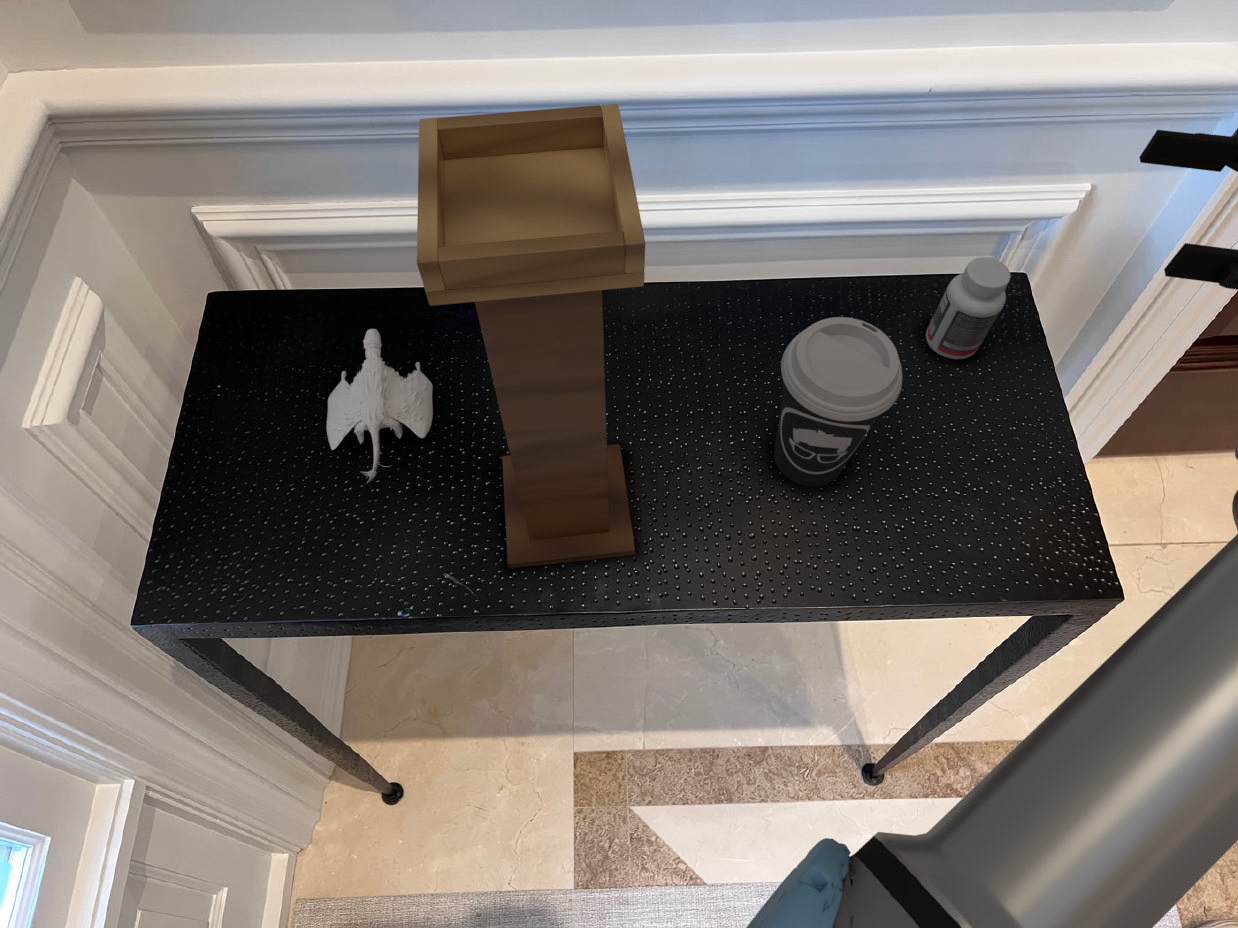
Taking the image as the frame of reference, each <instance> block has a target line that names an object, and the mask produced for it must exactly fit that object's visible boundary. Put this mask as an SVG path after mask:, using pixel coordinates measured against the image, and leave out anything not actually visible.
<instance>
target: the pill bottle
mask: <svg viewBox="0 0 1238 928" xmlns="http://www.w3.org/2000/svg"><path fill="white" fill-rule="evenodd" d="M1010 280H1011V271H1010V269H1009V267H1007V265H1005V263H1004V262H1002V261H1000V260H998V259H996V258H993V257H988V256H982V257H976V258H973V259H972V260H970V261H969V262H968V264H967V265H966V267H965V269H964V271H963V272H962V273H960V274H958V275H956V276H954V278H952V279H951V280H950V282H949V284H948V285H947V287H946V290H945V291H944V293H943V296H942V297H941V300H940V301H939V304H938V305H937V308H936V309H935V312H934V314H933V316H932V318H931V319H930V322H929V324H928V326H927V328H926V332H925V339H926V342H927V345H928V346H929V347H930V348H931V349H932V351H934V352H935V353H936V354H938V355H940V356H942V357H944V358H947V359H951V360H964V359H968V358H970V357H972V356H973V355H975V354H976V352H977V351H978V350H979V348H980V346H981V345H982V343H983V342H984V340H985V338H986V336H987V335H988V333H989V331H990V329H991V328H992V326H993V325H994V324H995V321H996V320H997V318H998V316H999V315H1000V313H1001V311H1002V310H1003V308H1004V306H1005V304H1006V300H1007V295H1006V291H1005V290H1006V289H1007V287H1008V285H1009V282H1010Z"/></svg>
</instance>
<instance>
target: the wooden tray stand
mask: <svg viewBox="0 0 1238 928" xmlns="http://www.w3.org/2000/svg"><path fill="white" fill-rule="evenodd" d="M417 161H418V165H417V172H418V173H417V221H416V222H417V225H416V226H417V227H416V232H417V233H416V265H417V268H418V273H419V275H420V278H421V282H422V285H423V288H424V289H423V290H424V292H425V295H426V298H427V301H428V305H429V306H430V307H433V306H442V305H443V306H444V305H454V304H464V303H474V304H475V308H476V309H475V310H476V312H477V313H476V314H477V317H478V321H479V326H480V330H481V331H480V332H481V335H482V339H483V343H484V348H485V352H486V357H487V360H488V365H489V369H490V374H491V378H492V383H493V388H494V391H495V396H496V400H497V405H498V409H499V413H500V417H501V421H502V426H503V430H504V435H505V439H506V443H507V448H508V452H509V453H508V454H509V455H502V457H501V459H502V478H503V499H504V518H505V535H506V537H505V538H506V554H507V557H506V558H507V566H508V569H520V568H528V567H529V568H530V567H538V566H547V565H556V564H565V563H573V562H582V561H590V560H591V561H593V560H601V559H608V558H618V557H626V556H627V557H628V556H634V555H636V547H635V540H634V533H633V532H634V531H633V526H632V519H631V512H630V505H629V497H628V491H627V483H626V476H625V470H624V463H623V455H622V450H621V449H622V448H621V444H620V443H617V444H608V436H607V405H606V403H607V402H606V401H607V399H606V372H605V339H604V336H605V335H604V333H605V332H604V306H603V305H604V304H603V300H604V299H603V291H606V290H608V291H609V290H618V289H629V288H639V287H644V286H645V269H646V267H645V266H646V265H645V264H646V238H645V234H644V228H643V224H642V219H641V214H640V207H639V203H638V202H639V201H638V197H637V192H636V188H635V187H636V186H635V183H634V182H635V181H634V177H633V171H632V167H631V162H630V156H629V151H628V147H627V140H626V137H625V132H624V127H623V122H622V115H621V111H620V106H619V104H618V103H612V104H602V105H600V104H599V105H597V104H595V105H583V106H571V107H560V108H547V109H533V110H520V111H508V112H496V113H481V114H469V115H457V116H444V117H443V116H442V117H430V118H429V117H428V118H419V119H418V160H417Z"/></svg>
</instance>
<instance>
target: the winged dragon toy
mask: <svg viewBox="0 0 1238 928" xmlns="http://www.w3.org/2000/svg"><path fill="white" fill-rule="evenodd" d="M381 338H382V337H381V334H380V332H379V331H378V329H376V328H369V329H367V331H366V332H365V335H364V339H363V340H362V343H363V349H365V350H364V352H365V353H364V355H365V358H366V359H365V360H363V363H361V366H362V367H361V369H359V371H358V372H356V376H354V377H353V381H352V382H351V383H348V381H347V380H346V378H347V371H346V370H343V371H342V372H341V374H340V376H341V379H340V381H339V383H338V384H337V385H336V387H335V388H334V389H333V390H332V392H331V393H330V394H329V396H328V399H327V414H326V415H327V416H326V435H327V441H328V443H329V447H330V449H331V451H333V450H335V449H336V448H338V447H339V445H340V444H341V443H342V441H343V440H344V438H345V437H346V436H347V435H348V433H349V432H350V431H351V430H352V429H353V428H354V430H353V434H355V435H356V438H357V440H358V442H359V445H362V443H364V441H365V431H368V432H369V433H370V436H371V440H372V449H373V463H372V469H370V470H368V471H361V474H364V476H368V477H369V479H368V480H367V482H366V483H365V485H367V484H368V483H370V482H372V481H373V479H374V478H375V476H376V475H377V470H378V467H379V465H380V463H381V462H380V457H381V456H380V455H381V452H382V451H381V446H380V445H381V443H380V430H382V429H386V428H390V430H393V432H394V435H396V438H398V439H399V440H401V438H402V437H403V435H404V430H403V425H405V426H406V427H407V428H408V429H410V430H411V431H412V432H413V433H414V434H415V435H416V436H417V437H419V438H420V439H425V438H426V436H427V435H428V433H429V431H430V429H431V426H432V422H433V417H434V416H433V415H434V405H433V389H434V386H433V384H432V382H431V380H429V378H428V377H427V376H426V375H425V374H424V372H422V371H421V363H420V361H416V362H415V368H416V369H413V371H412V372H411V373H410V372H408V373H407V377H404V376H401V375H400V373H399V372H398V371H395V369H394V368H393V367H392V366H390V367H389V366H388V365H387V364H386V361H384V359H383V357H381V352H382V351H381V350H382V349H381V348H382V346H383V343H382V339H381Z"/></svg>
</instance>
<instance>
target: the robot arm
mask: <svg viewBox="0 0 1238 928" xmlns="http://www.w3.org/2000/svg"><path fill="white" fill-rule="evenodd" d="M1139 162H1140V163H1141V164H1148V165H1149V164H1150V165H1158V166H1167V167H1175V168H1184V169H1190V170H1191V169H1192V170H1193V169H1194V170H1202V171H1210V172H1218V173H1221V172H1222V171H1223V170H1224V168H1225V167H1228V168H1229V169H1231V170H1233V171H1234V172H1236V173H1238V127H1237V128H1236V129H1235V130H1234V132H1233V134H1232V135H1231V136H1230V135H1221V134H1213V133H1212V134H1210V133H1205V132H1204V133H1203V132H1196V133H1190V132H1184V131H1183V132H1182V131H1175V130H1174V131H1173V130H1164V129H1157V130H1156V131H1155V132H1154V134H1153V135H1152V137H1151V138H1150V140H1149V141H1148V143H1147V144H1146V146H1145V148H1144V149H1143V151H1142V152H1141V154H1140V155H1139ZM1163 271H1164V275H1165V277H1169V278H1175V279H1176V278H1177V279H1183V280H1184V279H1185V280H1192V281H1200V282H1206V283H1215V284H1218V286H1219V287H1222V288H1224V289H1229V290H1238V249H1236V248H1235V249H1233V248H1227V247H1219V246H1211V245H1203V244H1195V243H1188V242H1187V243H1186V242H1185V243H1184V244H1182V246H1181V247H1180V249H1179V250H1178V251H1177V252H1176V254H1174V256H1173V257H1172V259H1170V261H1169V262H1168V263H1167V265H1166V266H1165V268H1164V269H1163ZM1234 457H1235V459H1236V460H1237V461H1238V446H1236V448H1235V450H1234ZM1231 512H1232V517H1233V521H1234V524H1235V526H1236V530H1237V531H1238V489H1237V490H1236V492H1235V494H1234V495H1233V499H1232V504H1231ZM1237 842H1238V533H1237V534H1236V535H1235V536H1234V537H1233V538H1231V540H1229V541H1228V542H1227V543H1226V544H1225V545H1224V546H1223V547H1222V548H1220V550H1219V551H1218V552H1217V553H1216V554H1215V555H1214V556H1212V558H1210V560H1209V561H1208V562H1207V563H1206V564H1204V566H1202V567H1201V568H1200V569H1199V570H1198V571H1197V572H1196V573H1195V574H1194V575H1193V576H1192V577H1191V578H1190V579H1189V580H1188V581H1187V582H1185V584H1184V585H1183V586H1182V587H1180V588H1179V589H1178V590H1177V592H1176V593H1175V594H1173V595H1172V596H1171V597H1170V598H1169V599H1168V600H1167V601H1166V602H1165V603H1164V604H1163V605H1162V606H1161V607H1160V608H1159V609H1158V610H1157V611H1156V612H1154V614H1153V615H1151V616H1150V617H1149V618H1148V619H1147V620H1146V621H1145V622H1144V623H1143V624H1142V625H1141V626H1140V627H1139V628H1138V629H1137V630H1136V631H1135V632H1134V633H1133V634H1132V635H1131V636H1130V637H1129V638H1128V639H1126V640H1125V641H1124V643H1122V644H1121V646H1119V647H1118V648H1117V649H1116V650H1115V651H1114V652H1113V653H1112V654H1111V655H1110V656H1108V657H1107V659H1106V660H1104V662H1102V664H1100V666H1098V668H1096V669H1095V670H1094V671H1093V672H1092V673H1091V674H1090V675H1089V676H1088V677H1087V678H1086V679H1085V680H1084V681H1083V682H1082V683H1081V684H1079V686H1078V687H1077V688H1075V690H1074V691H1072V692H1071V693H1070V694H1069V695H1068V696H1067V697H1066V698H1065V699H1064V700H1063V701H1062V702H1061V703H1060V704H1059V705H1058V706H1057V707H1056V708H1055V709H1054V710H1053V711H1052V712H1051V713H1050V714H1049V715H1047V716H1046V718H1044V719H1043V721H1041V722H1040V723H1039V724H1038V725H1036V727H1035V728H1034V729H1033V730H1032V731H1030V733H1029V734H1028V735H1027V736H1026V737H1025V738H1024V739H1023V740H1022V741H1021V742H1020V743H1018V744H1017V745H1016V746H1015V747H1014V748H1013V749H1012V750H1011V751H1010V752H1009V753H1008V754H1007V755H1006V756H1005V757H1004V758H1003V759H1002V760H1001V761H1000V762H999V763H998V764H996V765H995V766H994V768H993V769H992V770H991V771H990V772H989V773H987V774H986V775H985V776H984V777H983V778H982V779H981V780H980V781H979V782H978V783H977V784H976V785H975V786H974V787H973V788H972V789H971V790H969V792H967V793H966V794H965V795H964V796H963V797H962V798H961V799H960V800H959V801H958V802H957V803H956V804H955V805H954V806H953V807H952V808H951V809H950V810H948V812H946V813H945V815H943V817H942V818H940V819H939V820H938V821H937V822H936V823H935V824H934V825H933V826H932V827H931V828H930V829H929V830H928V831H927V832H925V833H920V834H905V833H904V834H903V833H895V832H894V833H893V832H883V831H877V832H876V833H875V834H874V835H873V836H872V837H870V839H868V840H867V841H866V842H865V843H864V844H863V845H862V846H861V847H860V848H859V849H858V850H857V851H856V852H854V853H853V854H852V853H851V850H850V849H849V847H848V846H847V845H846V844H845V843H842V842H838V841H837V840H835V839H834V838H828V837H827V838H826V837H825V838H822V839H820V841H818V842H817V843H816V844H814V846H812V848H811V849H809V851H808V852H807V854H806V856H805V857H804V858H803V859H802V860H801V861H800V862H799V863H798V864H797V866H796V867H794V868H793V869H792V870H791V871H790V873H788V875H787V876H786V877H785V878H784V879H783V881H782V882H781V883H779V885H778V887H777V888H776V889H775V890H774V892H773V893H772V894H771V895H770V897H769V898H768V899H766V901H765V903H763V905H762V906H761V908H760V909H759V910H758V911H757V912H756V914H755V916H754V917H753V918H752V920H750V922H749V923H748V924H747V926H746V927H745V928H1154V927H1155V926H1156V925H1157V924H1158V923H1159V922H1160V921H1161V920H1162V919H1163V918H1164V917H1165V916H1166V915H1167V913H1169V912H1170V911H1171V910H1172V909H1173V907H1175V906H1176V904H1177V903H1179V902H1180V900H1181V899H1183V897H1184V896H1185V895H1186V894H1187V893H1188V892H1189V891H1190V890H1191V889H1193V887H1194V886H1195V885H1196V884H1197V883H1198V882H1199V881H1200V880H1201V879H1202V878H1203V877H1204V876H1205V875H1206V874H1207V872H1209V871H1210V870H1211V869H1212V868H1213V866H1215V865H1216V863H1218V861H1220V859H1222V857H1223V856H1224V855H1225V854H1226V853H1227V852H1228V851H1229V850H1230V849H1231V848H1232V847H1233V846H1234V845H1235V844H1236V843H1237ZM851 854H852V855H851Z"/></svg>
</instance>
